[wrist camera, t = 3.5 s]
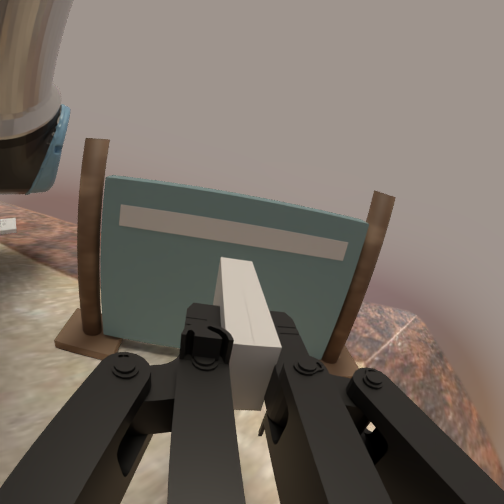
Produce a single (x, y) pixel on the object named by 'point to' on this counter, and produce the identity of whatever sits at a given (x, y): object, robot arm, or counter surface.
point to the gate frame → (88, 249)
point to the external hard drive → (7, 226)
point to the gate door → (218, 257)
